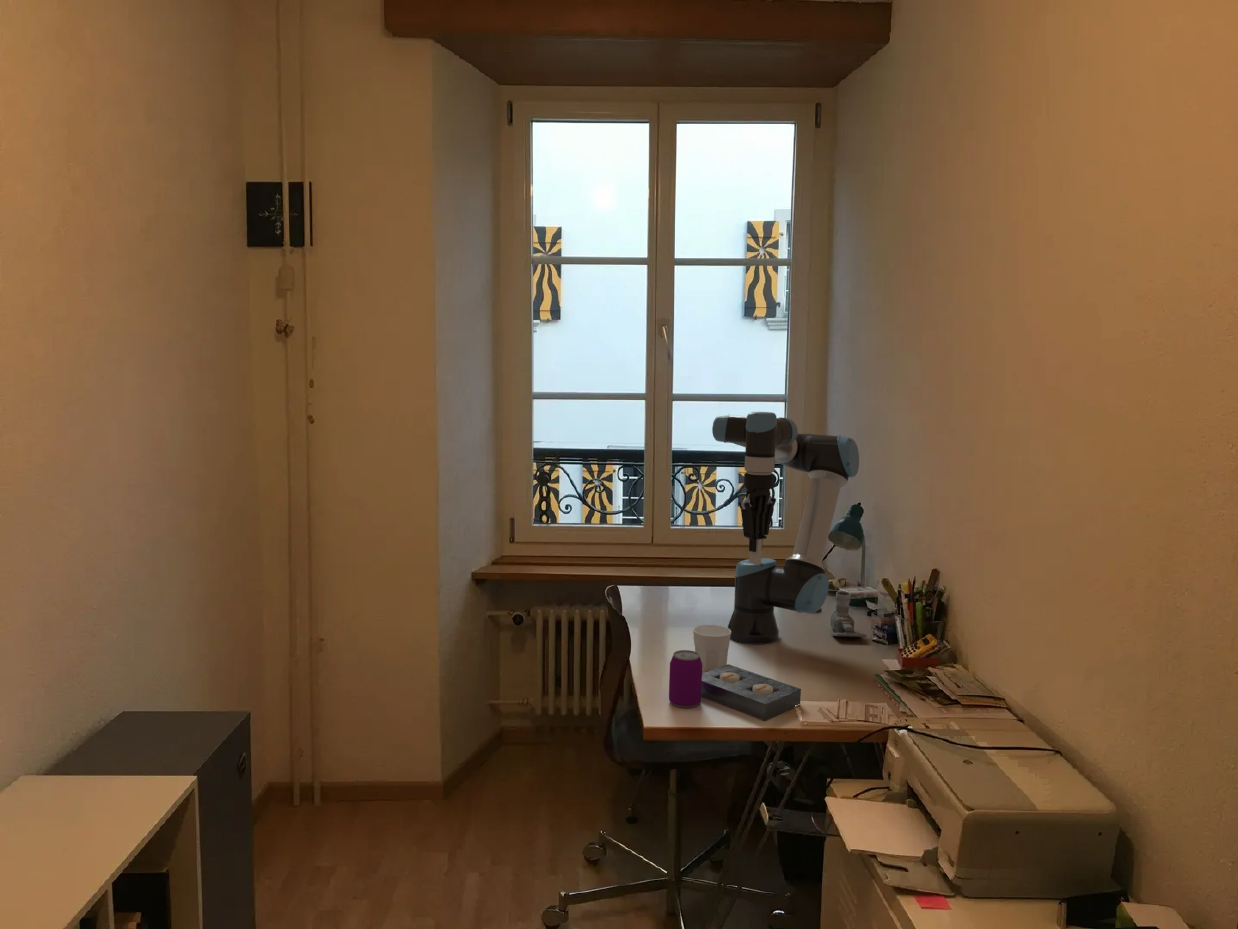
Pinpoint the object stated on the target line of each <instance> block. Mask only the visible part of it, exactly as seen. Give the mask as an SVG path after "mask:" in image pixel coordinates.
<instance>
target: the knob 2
mask: <svg viewBox="0 0 1238 929" xmlns="http://www.w3.org/2000/svg"><path fill="white" fill-rule="evenodd" d="M752 691H753V692H756V693H759V694H761V695H764V696H767V695H769V694H771V693H773V687H772V686H770V685H767V684H755V685H753V690H752Z"/></svg>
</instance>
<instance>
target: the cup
mask: <svg viewBox="0 0 1238 929" xmlns="http://www.w3.org/2000/svg"><path fill="white" fill-rule="evenodd" d="M692 631H693V632H692V633H693V643H694V644H693V645H694V651H695V652H697V653H699V655H700V659H701V662H702V669H703V670H702V671H703V672H708V671H711V670H714V669H716V668H719V667H722V666H725V665H727V664H728V663H727V662H728V655H729V653H728V652H729V648H730V641H731V638H730V636H731V630H730V629H728V628H727V626H724V625H723V626H722V625H718V624H700V625H699V624H698V625H697V626H694V627H693V629H692Z"/></svg>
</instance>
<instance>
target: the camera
mask: <svg viewBox="0 0 1238 929" xmlns="http://www.w3.org/2000/svg"><path fill="white" fill-rule="evenodd" d="M851 594H852V593H850V592H849V591H841V590H840V591H836V593H835V601H836V607H835V611H833V612H832V613H831V616H830V627H831V629H832V630H834V632H831V633H830V635H832V636H834V637H835V636H836V637H860V638H861V637H862V638H863V637H864V638H867V634H864V633H860V632H854V631H855V620H854V619H853V618H852V617H851V615H850V614H849V612H850V611H849V610H850V608H849V607H850V603H851Z"/></svg>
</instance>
